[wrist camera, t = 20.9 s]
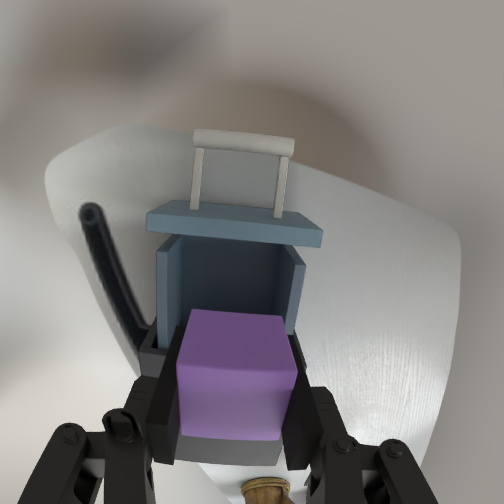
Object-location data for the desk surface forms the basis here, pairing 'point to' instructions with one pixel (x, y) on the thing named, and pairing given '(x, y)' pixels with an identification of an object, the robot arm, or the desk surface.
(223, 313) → the cube
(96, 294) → the desk surface
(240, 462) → the cabinet
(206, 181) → the desk surface
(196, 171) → the drawer
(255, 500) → the wooden mug
